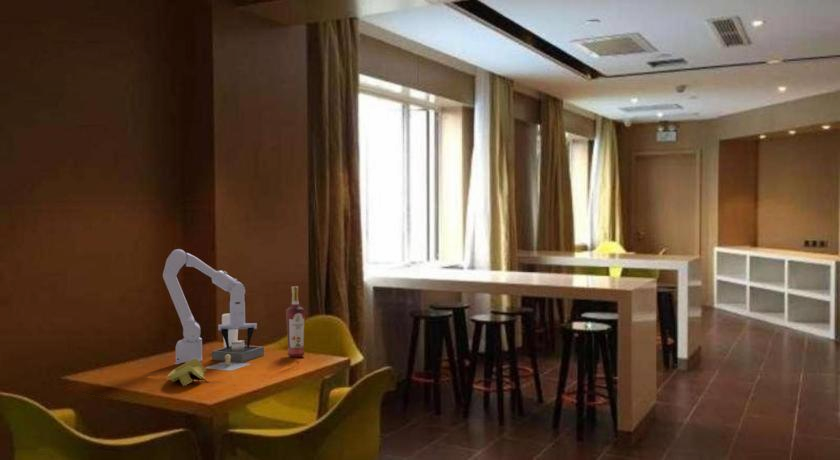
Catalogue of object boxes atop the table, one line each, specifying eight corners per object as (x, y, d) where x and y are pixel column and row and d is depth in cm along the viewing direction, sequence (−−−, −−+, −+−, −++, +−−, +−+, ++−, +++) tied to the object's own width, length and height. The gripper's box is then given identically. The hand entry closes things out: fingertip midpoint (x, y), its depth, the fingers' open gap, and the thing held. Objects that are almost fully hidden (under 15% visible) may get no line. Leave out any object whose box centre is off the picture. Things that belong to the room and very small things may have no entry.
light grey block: (231, 360, 275) (231, 342, 274) (232, 358, 279) (232, 340, 279) (244, 360, 276) (243, 342, 275) (244, 357, 280) (244, 340, 280)
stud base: (204, 371, 259) (203, 356, 259) (225, 364, 270) (224, 350, 270) (231, 374, 254) (230, 358, 254) (251, 367, 266) (251, 352, 265)
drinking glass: (242, 349, 300) (241, 313, 300) (231, 352, 294) (231, 315, 294) (229, 347, 303) (228, 312, 303) (218, 350, 297) (218, 315, 296)
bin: (212, 362, 274) (211, 351, 274) (234, 355, 287) (234, 344, 287) (242, 365, 268) (241, 353, 268) (263, 358, 281) (263, 346, 281)
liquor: (290, 359, 278) (289, 288, 277) (284, 356, 284) (282, 286, 283) (308, 357, 281) (307, 287, 280) (301, 354, 288) (300, 285, 287)
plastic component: (173, 369, 253) (199, 355, 255) (182, 387, 253) (208, 374, 255) (164, 378, 233) (193, 363, 235) (175, 398, 234) (203, 383, 236)
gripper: (217, 315, 272) (218, 350, 272) (256, 313, 275) (257, 348, 275) (218, 312, 278) (219, 347, 279) (256, 311, 282) (257, 345, 282)
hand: (238, 347), depth 277 cm, fingers open, 7 cm apart
